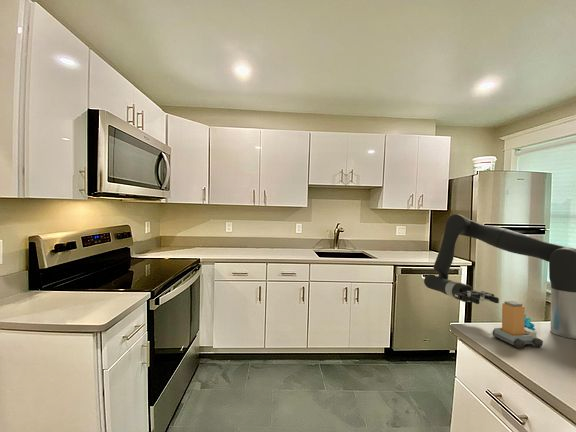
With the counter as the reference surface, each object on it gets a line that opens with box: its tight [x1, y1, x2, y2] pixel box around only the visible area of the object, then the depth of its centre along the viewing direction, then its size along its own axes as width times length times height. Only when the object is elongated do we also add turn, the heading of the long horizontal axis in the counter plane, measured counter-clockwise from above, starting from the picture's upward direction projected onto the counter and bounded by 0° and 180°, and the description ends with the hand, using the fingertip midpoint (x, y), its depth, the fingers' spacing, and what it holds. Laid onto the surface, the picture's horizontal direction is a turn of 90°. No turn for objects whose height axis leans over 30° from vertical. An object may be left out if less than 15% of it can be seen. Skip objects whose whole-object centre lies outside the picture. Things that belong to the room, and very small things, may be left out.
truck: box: [492, 327, 544, 350], centre depth 105 cm, size 11×10×4 cm
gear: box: [524, 314, 536, 331], centre depth 118 cm, size 11×6×10 cm
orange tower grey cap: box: [501, 300, 526, 336], centre depth 105 cm, size 4×4×12 cm
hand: (488, 301), depth 116 cm, fingers open, 8 cm apart
